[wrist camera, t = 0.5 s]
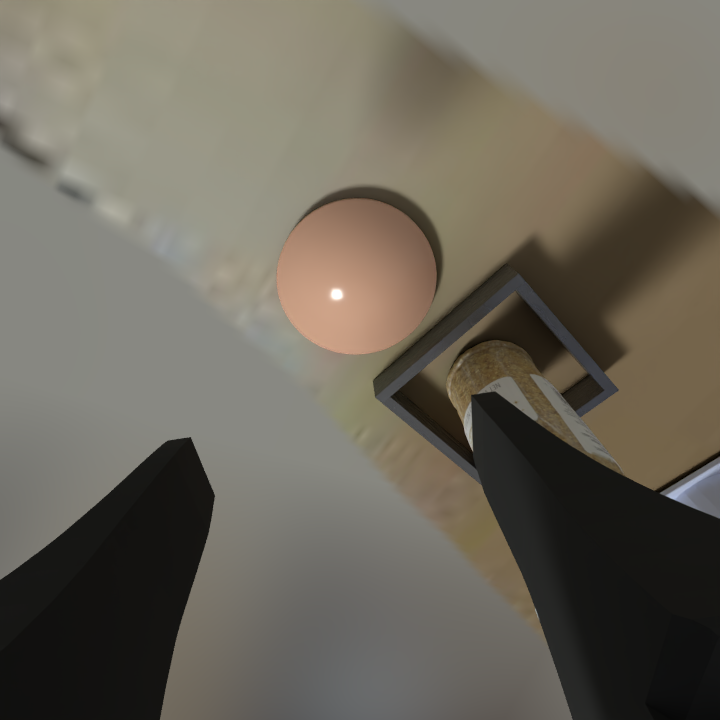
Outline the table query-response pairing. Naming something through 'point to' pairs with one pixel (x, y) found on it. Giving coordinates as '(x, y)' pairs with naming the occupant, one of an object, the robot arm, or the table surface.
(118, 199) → the table surface
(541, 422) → the sprinkles bottle
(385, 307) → the terracotta coaster
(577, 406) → the square socket
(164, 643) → the robot arm
